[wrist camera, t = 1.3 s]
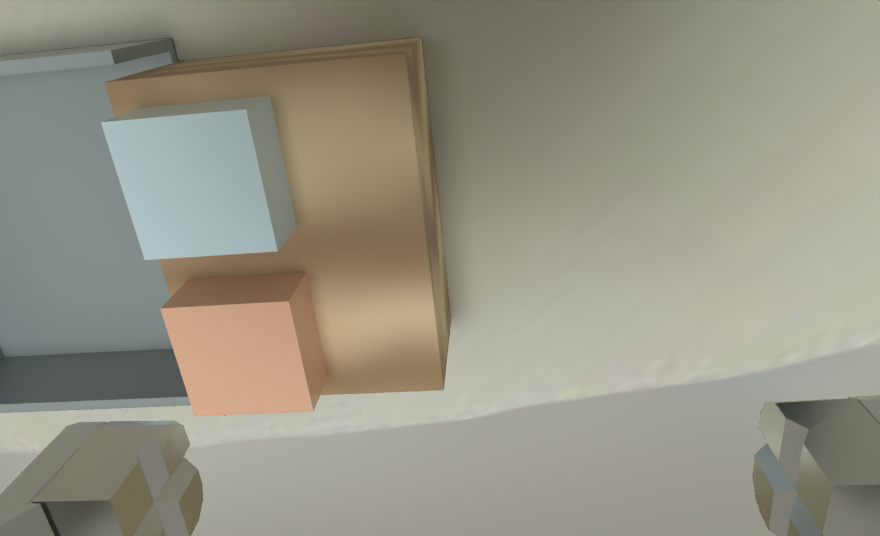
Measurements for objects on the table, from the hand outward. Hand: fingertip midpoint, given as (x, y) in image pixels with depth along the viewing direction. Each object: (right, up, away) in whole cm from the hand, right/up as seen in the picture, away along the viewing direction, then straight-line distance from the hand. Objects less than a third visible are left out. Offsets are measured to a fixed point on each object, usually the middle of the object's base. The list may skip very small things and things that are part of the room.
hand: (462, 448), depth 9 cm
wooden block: (-6, +6, +22) cm, 23 cm away
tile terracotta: (-8, 0, +18) cm, 20 cm away
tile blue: (-9, +6, +15) cm, 19 cm away
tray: (-19, +5, +23) cm, 30 cm away
